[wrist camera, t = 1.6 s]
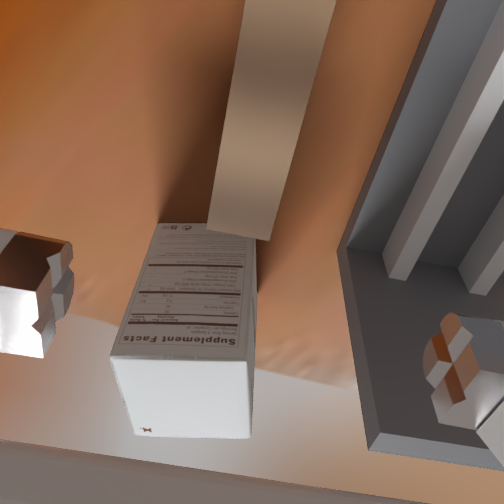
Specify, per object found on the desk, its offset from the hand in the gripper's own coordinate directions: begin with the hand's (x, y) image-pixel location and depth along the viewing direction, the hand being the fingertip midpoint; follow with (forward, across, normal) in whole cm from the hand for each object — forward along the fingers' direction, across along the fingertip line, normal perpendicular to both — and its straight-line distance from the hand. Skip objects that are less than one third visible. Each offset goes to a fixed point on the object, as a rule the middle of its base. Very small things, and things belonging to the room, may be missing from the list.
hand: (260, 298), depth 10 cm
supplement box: (+21, +1, +16) cm, 26 cm away
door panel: (+20, 0, 0) cm, 20 cm away
